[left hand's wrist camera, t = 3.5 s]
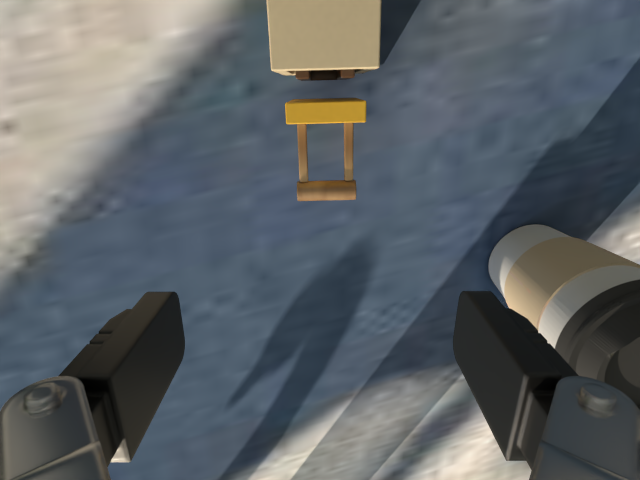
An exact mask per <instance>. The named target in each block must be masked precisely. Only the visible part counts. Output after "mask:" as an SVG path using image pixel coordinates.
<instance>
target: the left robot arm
mask: <svg viewBox="0 0 640 480" xmlns="http://www.w3.org/2000/svg"><path fill="white" fill-rule="evenodd" d="M184 349H185V337H184V331H183V324H182V317H181V310H180V303H179V298H178V295H177V293H176V292H147V293H145V294H144V296H143V297H142V298H141V299H140V300H139V301H138V303H137V304H136V305H135V306H134V307H133V308H132V309H126V310H125V311H123V312H121V313H120V314H118V315H116V316H115V317H113V318H112V319H110V320H109V321H108V322H107V323H106V324H105V325H104V327H103V328H102V329H101V330H100V331H99V334H96V335H95V336H94V338H93V339H92V340H91V341H90V344H87V345H86V346H85V347H84V349H83V350H82V351H81V352H80V353H79V354H78V355H77V356H76V357H75V358H74V359H73V361H72V362H71V363H70V364H69V365H68V366H67V367H66V368H65V369H64V370H63V372H62V373H61V374H60V375H59V376H58V377H52V378H47V379H44V380H41V381H38V382H36V383H33V384H31V385H29V386H27V387H25V388H24V389H22V390H20V391H19V392H17V393H16V394H14V395H13V396H12V397H11V398H10V399H9V400H8V401H7V402H6V403H5V404H4V406H3V407H2V409H1V411H0V480H111V478H110V475H109V471H108V468H107V467H108V465H109V464H110V462H131V460H132V458H133V456H134V454H135V452H136V450H137V448H138V446H139V444H140V442H141V440H142V439H143V437H144V435H145V433H146V431H147V429H148V427H149V425H150V423H151V421H152V419H153V417H154V415H155V413H156V411H157V409H158V407H159V405H160V403H161V401H162V399H163V397H164V395H165V393H166V391H167V389H168V387H169V385H170V383H171V381H172V379H173V377H174V375H175V373H176V371H177V369H178V368H179V366H180V364H181V361H182V359H183V355H184ZM453 349H454V355H455V358H456V361H457V363H458V365H459V367H460V369H461V371H462V373H463V375H464V377H465V379H466V381H467V383H468V385H469V387H470V389H471V391H472V393H473V395H474V397H475V399H476V401H477V403H478V405H479V407H480V409H481V411H482V413H483V415H484V417H485V419H486V421H487V423H488V425H489V427H490V429H491V431H492V433H493V435H494V437H495V439H496V441H497V443H498V445H499V447H500V449H501V451H502V453H503V455H504V457H505V459H506V461H527V463H528V464H529V466H530V468H531V470H532V471H531V475H530V478H529V480H640V411H639V409H638V407H637V406H636V404H635V403H634V402H633V401H632V400H631V399H630V398H629V397H628V396H627V395H626V394H624V393H623V392H621V391H620V390H618V389H616V388H615V387H613V386H611V385H609V384H607V383H604V382H602V381H599V380H596V379H593V378H588V377H582V376H579V375H578V374H577V373H576V372H575V371H574V370H573V369H572V368H571V366H570V365H569V364H568V363H567V362H566V361H565V360H564V359H563V358H562V356H561V355H560V354H559V353H558V352H557V351H556V350H555V349H554V348H553V346H552V345H551V344H550V343H547V340H546V339H545V338H544V336H543V335H542V334H541V333H538V330H537V329H536V328H535V326H534V325H533V324H532V323H531V322H530V321H529V320H528V319H527V318H525V317H524V316H522V315H521V314H519V313H517V312H516V311H514V310H512V309H506V308H505V307H504V306H503V305H502V304H501V302H500V301H499V300H498V299H497V298H496V297H495V295H494V294H493V293H492V292H490V291H463V292H461V294H460V297H459V302H458V309H457V316H456V323H455V329H454V336H453Z"/></svg>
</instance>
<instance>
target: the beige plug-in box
mask: <svg viewBox="0 0 640 480" xmlns="http://www.w3.org/2000/svg"><path fill="white" fill-rule="evenodd" d="M267 12H268V27H269V43H270V59H271V70H272V71H274V72H277V73H280V74H283V75H296V72H295V71H305V70H342V69H355V73H364V72H368V71H371V70H374V69H377V68H379V66H380V33H381V0H267Z"/></svg>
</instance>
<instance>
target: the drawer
mask: <svg viewBox="0 0 640 480" xmlns="http://www.w3.org/2000/svg"><path fill="white" fill-rule="evenodd" d="M295 72H296V79H298V80H301V81H311V80H346V79H350V78H353V77H354V76H355V69H342V70H305V71H295ZM285 109H286V124H297V130H298V152H299V175H300V181H298V182H297V198H298V201H319V200H355V199H356V181H355V180H353V122H366V101H364V100H361V99H358V98H328V99H293V100H291V101H289V102H287V103H285ZM312 123H344V180H330V181H308V157H307V129H306V124H312Z"/></svg>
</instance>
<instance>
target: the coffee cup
mask: <svg viewBox="0 0 640 480" xmlns="http://www.w3.org/2000/svg"><path fill="white" fill-rule="evenodd" d="M488 267H489V274H490V277H491V279H492V281H493V282H494V284H495V285H496V287H497V288H498V289H499V291H500V292H501V294H502V295H503V297H504V298H505V299H506V302H507V305H508V307H509V308H510V309H512V310H514V311H516V312H517V313H519V314H521V315H522V316H524V317H525V318H527V319H528V320H529V321H530V322H531V323H532V324H533V325H534V326H535V328H536V329H537V330H538V333H541V334H542V335H543V336H544V338H545V339H546V340H547V343H550V344H551V345H552V346H553V348H554V349H555V350H556V351H557V352H558V353H559V354H560V355H561V356H562V358H563V359H564V360H565V361H566V362H567V363H568V364H569V365H570V366H571V368H572V369H573V370H574V371H575V372H576V373H577V374H578V375H579V376H582V377H588V378H593V379H596V380H599V381H602V382H604V383H607V384H609V385H611V386H613V387H615V388H616V389H618V390H620V391H621V392H623V393H624V394H626V395H627V396H628V397H629V398H630V399H631V400H632V401H633V402H634V403H635V404H636V406H637V407H638V409H639V411H640V265H639V264H636V263H634V262H632V261H630V260H627V259H625V258H623V257H621V256H618V255H616V254H614V253H612V252H609V251H607V250H605V249H603V248H600V247H598V246H596V245H594V244H591V243H589V242H587V241H584V240H582V239H579V238H574V237H571V236H568V235H566V234H564V233H562V232H560V231H557V230H555V229H553V228H551V227H548V226H545V225H538V224H533V225H526V226H522V227H520V228H517V229H515V230H513V231H511V232H510V233H508V234H507V235H505V236H504V237H503V238H502V239H501V240H500V241H499V242H498V243H497V245H496V246H495V247H494V249H493V251H492V253H491V256H490V259H489V266H488Z"/></svg>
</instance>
